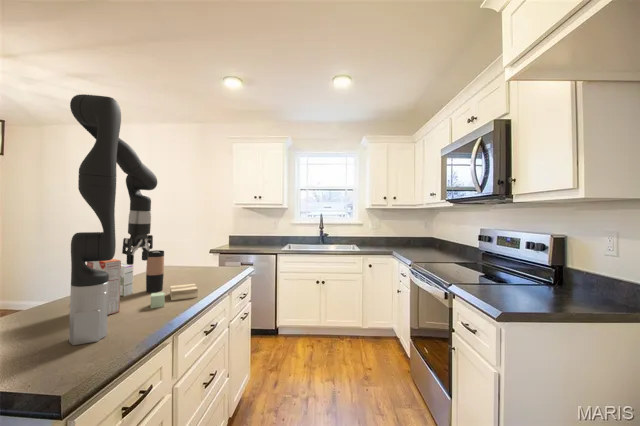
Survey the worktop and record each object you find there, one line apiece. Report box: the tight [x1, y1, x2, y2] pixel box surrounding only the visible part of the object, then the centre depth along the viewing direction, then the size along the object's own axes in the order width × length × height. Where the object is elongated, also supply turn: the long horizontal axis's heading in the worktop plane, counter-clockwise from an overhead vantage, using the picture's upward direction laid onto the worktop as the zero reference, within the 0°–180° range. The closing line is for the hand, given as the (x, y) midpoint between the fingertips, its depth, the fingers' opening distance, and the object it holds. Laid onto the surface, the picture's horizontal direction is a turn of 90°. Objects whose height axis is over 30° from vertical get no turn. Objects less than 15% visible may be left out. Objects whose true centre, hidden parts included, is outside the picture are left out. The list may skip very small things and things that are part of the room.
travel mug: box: [145, 249, 165, 294], centre depth 140 cm, size 8×8×20 cm
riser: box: [169, 283, 199, 301], centre depth 133 cm, size 11×11×4 cm
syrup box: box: [120, 263, 134, 297], centre depth 132 cm, size 6×6×14 cm
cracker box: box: [86, 258, 122, 316], centre depth 110 cm, size 14×6×21 cm, turn 62°
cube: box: [150, 291, 166, 309], centre depth 118 cm, size 5×5×5 cm
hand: (137, 262), depth 111 cm, fingers open, 8 cm apart
